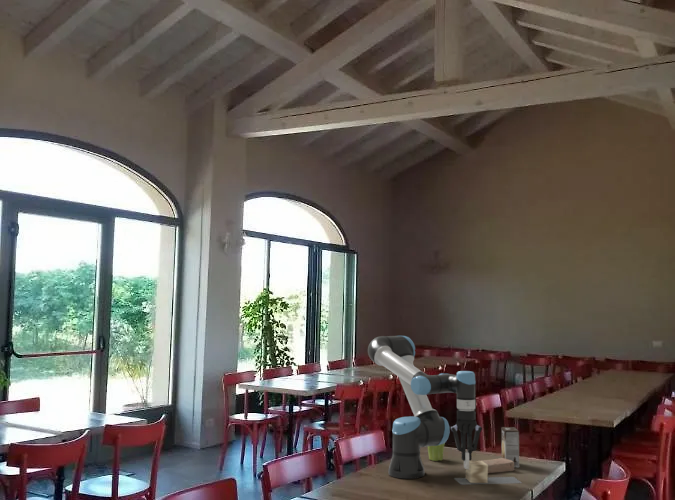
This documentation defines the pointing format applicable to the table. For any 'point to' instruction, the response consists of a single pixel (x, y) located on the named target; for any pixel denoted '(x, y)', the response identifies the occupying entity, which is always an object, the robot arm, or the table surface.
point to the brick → (499, 465)
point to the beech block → (477, 472)
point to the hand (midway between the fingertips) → (466, 468)
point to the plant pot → (436, 452)
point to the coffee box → (510, 444)
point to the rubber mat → (490, 480)
